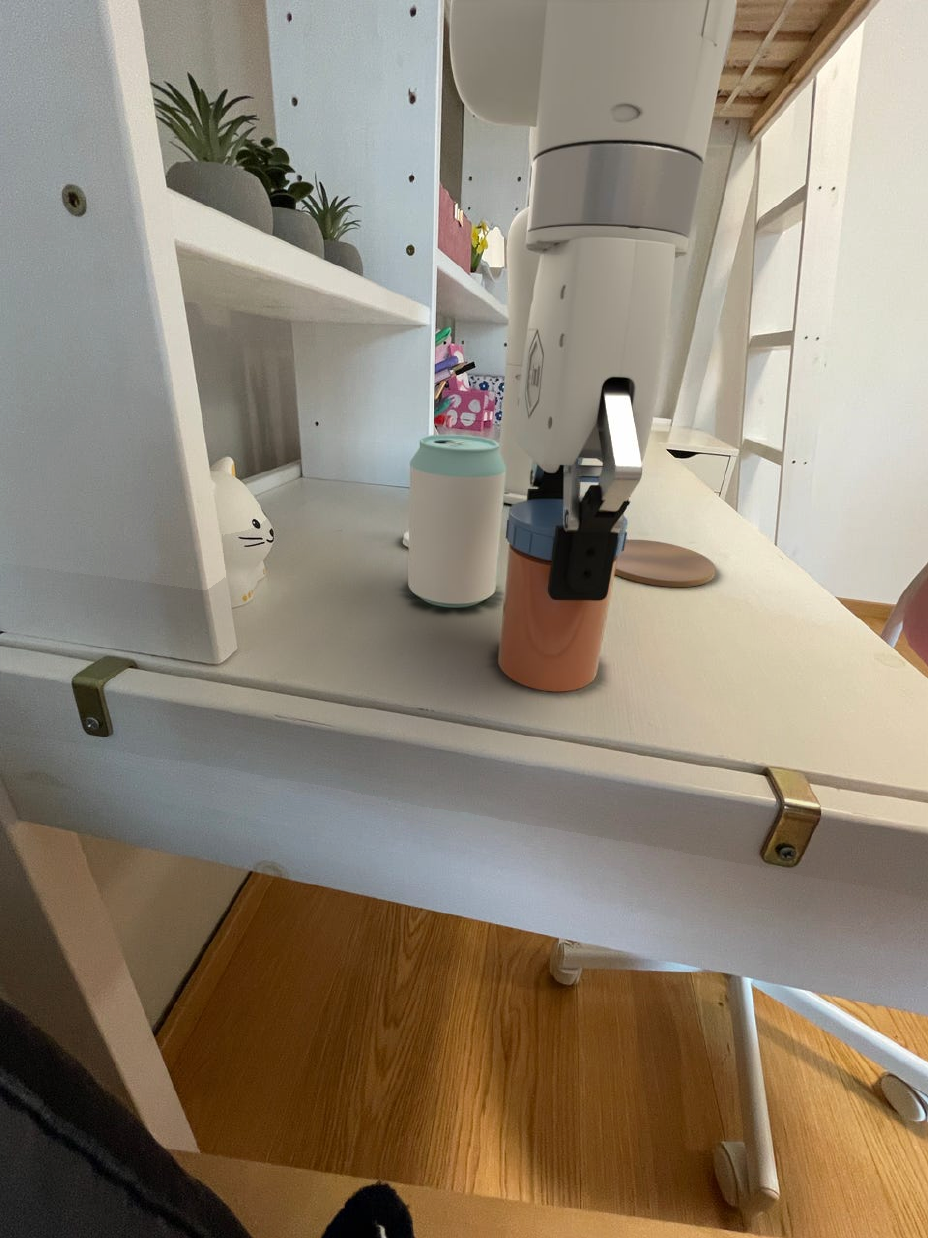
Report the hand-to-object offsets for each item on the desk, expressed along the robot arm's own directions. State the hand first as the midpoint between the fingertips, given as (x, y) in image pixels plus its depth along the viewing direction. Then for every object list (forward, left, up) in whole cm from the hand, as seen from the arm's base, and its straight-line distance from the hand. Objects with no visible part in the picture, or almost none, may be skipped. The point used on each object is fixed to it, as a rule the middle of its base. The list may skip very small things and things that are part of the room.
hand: (560, 569), depth 35 cm
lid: (0, 0, +3) cm, 3 cm away
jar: (0, 0, -7) cm, 7 cm away
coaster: (-15, +18, -7) cm, 24 cm away
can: (-12, -3, -7) cm, 14 cm away
